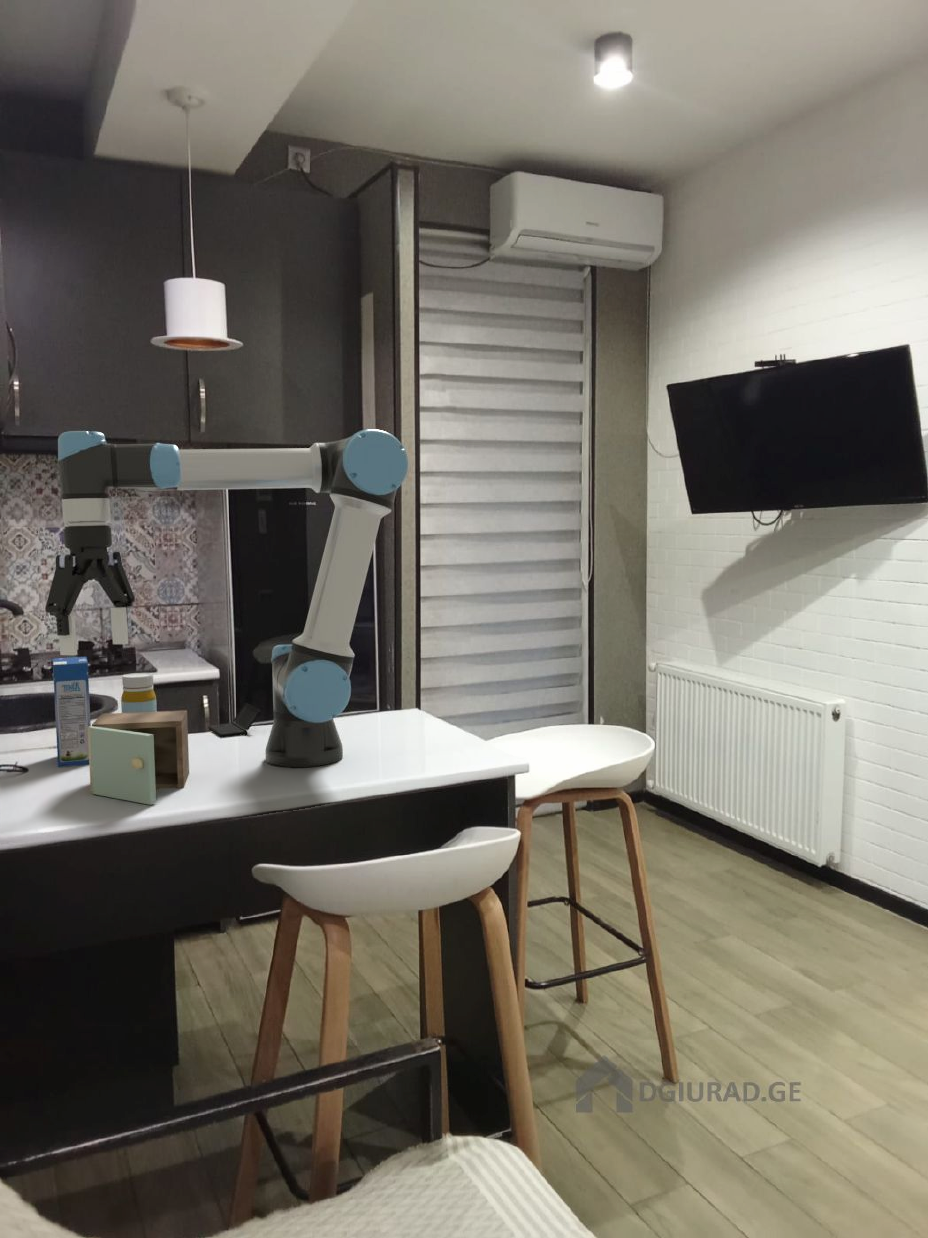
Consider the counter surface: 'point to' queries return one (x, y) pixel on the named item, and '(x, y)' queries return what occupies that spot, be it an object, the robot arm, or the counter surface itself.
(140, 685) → the bottle
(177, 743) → the walnut cabinet
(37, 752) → the counter surface
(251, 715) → the handheld gaming console
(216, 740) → the counter surface
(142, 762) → the cabinet door
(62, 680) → the milk carton
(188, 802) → the counter surface
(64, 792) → the counter surface
